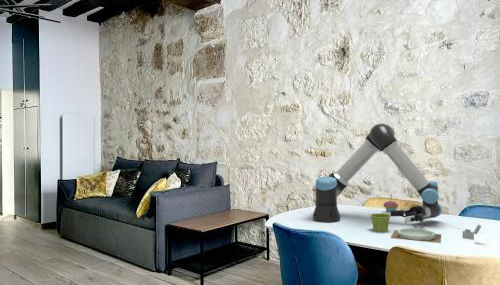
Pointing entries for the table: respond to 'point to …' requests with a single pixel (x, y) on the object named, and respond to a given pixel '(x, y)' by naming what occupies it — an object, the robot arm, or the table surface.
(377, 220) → the plant pot
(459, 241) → the table surface
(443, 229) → the table surface
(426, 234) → the saucer
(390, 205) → the cupcake
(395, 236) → the walnut board
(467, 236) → the lighter
